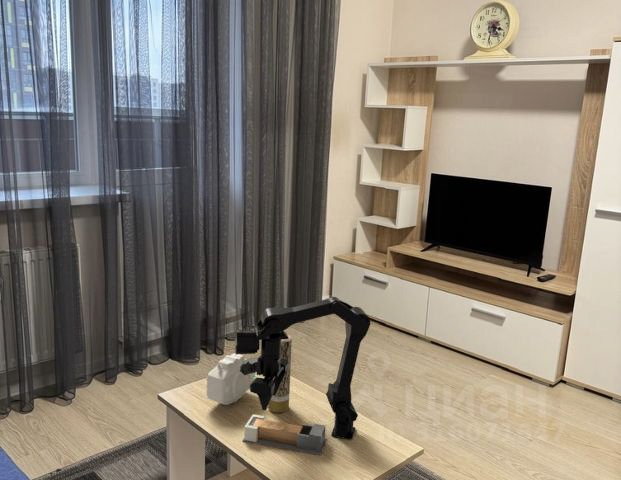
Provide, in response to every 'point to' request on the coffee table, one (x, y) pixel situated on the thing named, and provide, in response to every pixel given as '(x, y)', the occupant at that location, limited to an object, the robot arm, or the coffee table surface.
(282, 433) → the tan wooden block
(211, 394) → the camera
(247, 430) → the socket
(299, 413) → the coffee table surface
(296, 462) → the coffee table surface
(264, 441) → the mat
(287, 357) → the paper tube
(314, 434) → the sleeve
